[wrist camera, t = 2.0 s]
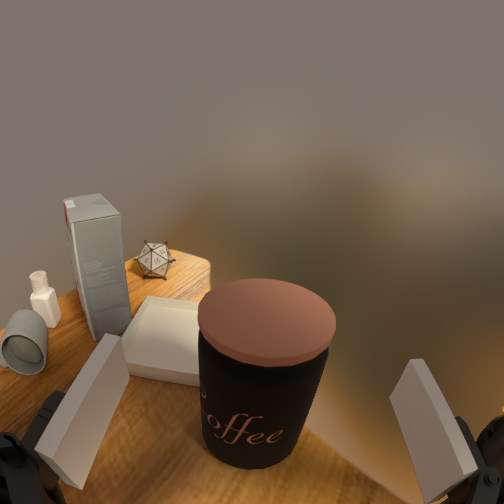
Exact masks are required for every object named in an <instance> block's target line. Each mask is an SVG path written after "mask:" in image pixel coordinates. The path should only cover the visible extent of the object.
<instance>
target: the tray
mask: <svg viewBox="0 0 504 504" xmlns="http://www.w3.org/2000/svg"><path fill="white" fill-rule="evenodd" d="M199 303H200V302H194V301H185V300H177V299H169V298H161V297H153V296H147V297H146V299H145V300H144V302H143V304H142V305H141V307H140V308H139V310H138V311H137V313H136V315H135V316H134V318H133V319H132V321H131V323H130V324H129V326H128V327H127V329H126V331H125V332H124V334H123V336H122V337H121V341H122V346H123V351H124V355H125V360H126V364H127V369H128V373H129V375H134V376H139V377H143V378H148V379H154V380H159V381H164V382H170V383H176V384H182V385H189V386H196V387H200V383H199V362H198V332H199V326H198V319H197V315H198V305H199Z"/></svg>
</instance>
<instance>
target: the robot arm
mask: <svg viewBox="0 0 504 504" xmlns="http://www.w3.org/2000/svg"><path fill="white" fill-rule="evenodd" d="M129 380H130V377H129V373H128V369H127V364H126V360H125V355H124V351H123V346H122V341H121V336H116V335H112V334H107V333H105V335H104V336H103V338H102V339H101V341H100V342H99V344H98V345H97V347H96V348H95V350H94V351H93V353H92V354H91V356H90V357H89V359H88V360H87V362H86V363H85V365H84V366H83V368H82V369H81V371H80V373H79V374H78V376H77V377H76V379H75V380H74V382H73V384H72V385H71V387H70V388H69V390H68V392H67V393H66V394H65V393H62V392H60V391H55V392H54V393H53V394H51V395H50V396H49V397H48V398H47V399H46V401H45V402H44V404H43V405H42V409H40V410H39V412H38V413H37V416H36V417H35V418H34V420H33V422H32V423H31V425H30V427H29V428H28V430H27V432H26V433H25V435H24V437H23V439H22V440H21V442H20V441H19V440H18V439H17V437H16V436H15V435H14V434H11V433H9V432H2V433H0V504H66V502H65V499H64V497H63V494H62V492H61V489H60V486H59V484H58V483H57V482H58V480H59V478H61V479H62V480H63V481H64V482H65V483H66V484H68V485H71V486H73V487H75V488H78V489H80V490H82V489H83V486H84V484H85V481H86V479H87V476H88V474H89V471H90V469H91V466H92V464H93V461H94V459H95V456H96V454H97V452H98V449H99V447H100V445H101V442H102V440H103V438H104V435H105V433H106V431H107V428H108V426H109V424H110V421H111V419H112V417H113V415H114V413H115V410H116V408H117V406H118V404H119V401H120V399H121V397H122V395H123V393H124V391H125V388H126V386H127V384H128V382H129ZM389 399H390V401H391V404H392V406H393V409H394V412H395V414H396V417H397V420H398V423H399V425H400V428H401V431H402V434H403V437H404V439H405V442H406V445H407V448H408V451H409V454H410V457H411V460H412V463H413V467H414V469H415V473H416V476H417V479H418V482H419V486H420V489H421V493H422V496H423V500H424V503H425V504H428V503H432V502H434V501H437V500H440V499H441V498H442V497H444V496H445V495H446V494H447V495H448V498H447V499H446V500H445V501H443V502H442V503H441V504H503V503H504V412H503V413H501V414H500V415H498V416H497V417H495V418H494V419H493V420H492V421H491V422H490V423H489V424H488V425H487V426H486V428H485V429H484V430H483V431H482V432H481V433H480V435H479V437H478V439H477V441H476V442H475V441H474V438H473V436H472V434H470V433H471V432H470V430H469V428H468V426H467V424H466V423H465V421H464V420H463V419H462V418H460V416H458V417H454V416H453V414H452V412H451V410H450V408H449V406H448V404H447V402H446V400H445V398H444V396H443V394H442V392H441V391H440V389H439V387H438V385H437V383H436V381H435V380H434V378H433V376H432V374H431V372H430V371H429V369H428V367H427V365H426V364H425V362H424V360H423V359H410V361H409V363H408V365H407V367H406V369H405V371H404V372H403V374H402V376H401V378H400V380H399V382H398V383H397V385H396V387H395V389H394V391H393V392H392V394H391V396H390V398H389Z"/></svg>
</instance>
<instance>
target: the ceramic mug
mask: <svg viewBox="0 0 504 504" xmlns="http://www.w3.org/2000/svg"><path fill="white" fill-rule="evenodd" d="M47 342H48V329H47V325H46V323H45V321H44V319H43V318H42V317H41V316H40V315H39V314H38V313H37V312H35V311H33V310H30V309H20V310H18V311H16V312H15V313H14V314H13V315H12V316H11V318H10V319H9V321H8V324H7V327H6V329H5V332H4V334H3V336H2V339H1V342H0V366H1V367H3V368H7V367H9V368H10V369H12V370H13V371H15V372H17V373H19V374H21V375H28V376H31V375H36V374H38V373H40V372H41V371H42V370H43V369H44V367H45V365H46V357H47Z"/></svg>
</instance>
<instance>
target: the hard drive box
mask: <svg viewBox="0 0 504 504" xmlns="http://www.w3.org/2000/svg"><path fill="white" fill-rule="evenodd" d="M63 202H64V211H65V221H66V229H67V236H68V242H69V250H70V256H71V262H72V268H73V273H74V278H75V283H76V288H77V292H78V296H79V300H80V303H81V306H82V309H83V312H84V315H85V318H86V321H87V324H88V327H89V329H90V332H91V335H92V337H93V340H94V341H98V340H101V339H102V338H103V336H104V335H105V333H107V334H112V335H119V334H123V333H124V332H125V331H126V329H127V327H128V326H129V324H130V323H131V321H132V315H131V308H130V302H129V295H128V287H127V279H126V271H125V262H124V251H123V241H122V226H121V214H120V213H119V212H118V211H117V210H116V209H115V208H114V207H113V206H112V205H111V204H110V203H109V202H108V201H107V200H106V199H105V198H104V197H103V196H102V195H101V194H92V195H85V196H78V197H72V198H67V199H63Z"/></svg>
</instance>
